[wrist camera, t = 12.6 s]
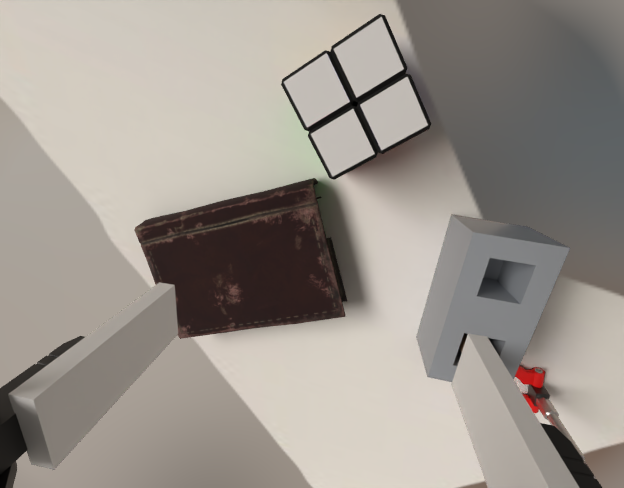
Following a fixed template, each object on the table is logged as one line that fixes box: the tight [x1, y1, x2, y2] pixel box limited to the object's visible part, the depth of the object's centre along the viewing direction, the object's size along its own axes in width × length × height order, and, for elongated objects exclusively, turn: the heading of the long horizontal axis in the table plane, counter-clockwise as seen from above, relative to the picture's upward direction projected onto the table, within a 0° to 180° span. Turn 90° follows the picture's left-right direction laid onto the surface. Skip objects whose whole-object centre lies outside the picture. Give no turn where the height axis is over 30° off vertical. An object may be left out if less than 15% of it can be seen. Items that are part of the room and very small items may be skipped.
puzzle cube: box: [281, 14, 431, 179], centre depth 32 cm, size 10×10×10 cm
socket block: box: [417, 215, 570, 382], centre depth 37 cm, size 18×9×8 cm, turn 172°
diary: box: [135, 178, 347, 339], centre depth 43 cm, size 19×25×5 cm
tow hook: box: [515, 366, 595, 479], centre depth 39 cm, size 8×13×9 cm
